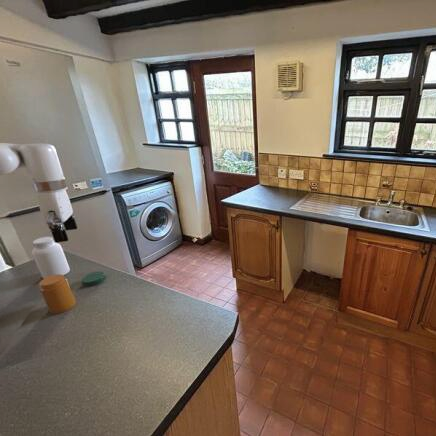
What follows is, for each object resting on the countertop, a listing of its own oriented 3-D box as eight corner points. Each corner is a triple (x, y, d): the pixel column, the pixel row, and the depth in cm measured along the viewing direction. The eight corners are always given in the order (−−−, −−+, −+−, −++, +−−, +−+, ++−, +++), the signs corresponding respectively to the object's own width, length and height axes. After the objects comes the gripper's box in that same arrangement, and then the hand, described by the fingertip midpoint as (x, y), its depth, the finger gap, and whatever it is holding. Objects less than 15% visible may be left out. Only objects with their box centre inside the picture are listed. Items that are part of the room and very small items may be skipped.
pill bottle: (51, 282, 89) (36, 246, 84) (37, 277, 92) (21, 242, 86) (75, 270, 96) (62, 236, 91) (61, 266, 99) (48, 233, 93)
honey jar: (46, 316, 74) (33, 288, 70) (53, 303, 80) (41, 276, 76) (73, 309, 77) (61, 282, 73) (78, 297, 82) (68, 271, 78)
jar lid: (106, 281, 91) (105, 277, 90) (83, 288, 86) (82, 284, 86) (104, 273, 95) (103, 269, 94) (82, 280, 91) (81, 275, 90)
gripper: (45, 180, 80) (61, 227, 87) (19, 194, 66) (41, 249, 72) (74, 178, 83) (87, 224, 90) (55, 191, 69) (73, 244, 76)
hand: (67, 235), depth 81 cm, fingers open, 9 cm apart
